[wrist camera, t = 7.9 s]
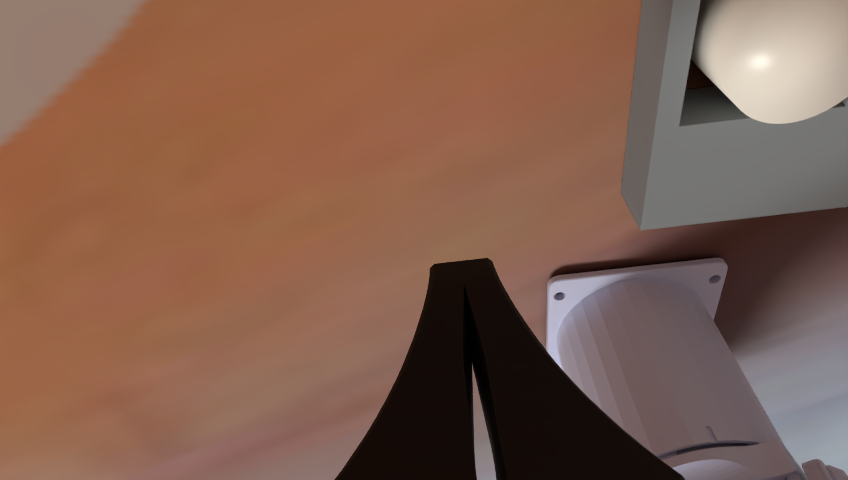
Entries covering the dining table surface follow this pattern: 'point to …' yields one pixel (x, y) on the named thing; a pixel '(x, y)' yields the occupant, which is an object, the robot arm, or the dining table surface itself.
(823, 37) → the knob
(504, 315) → the robot arm
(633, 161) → the console
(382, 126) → the dining table surface
